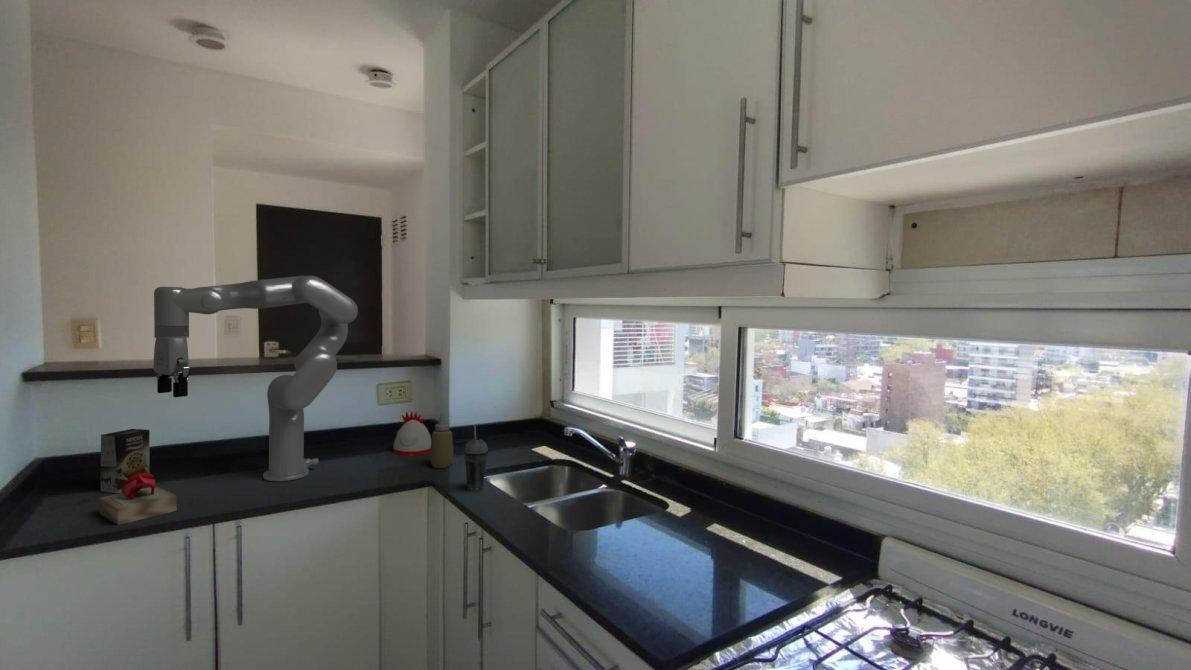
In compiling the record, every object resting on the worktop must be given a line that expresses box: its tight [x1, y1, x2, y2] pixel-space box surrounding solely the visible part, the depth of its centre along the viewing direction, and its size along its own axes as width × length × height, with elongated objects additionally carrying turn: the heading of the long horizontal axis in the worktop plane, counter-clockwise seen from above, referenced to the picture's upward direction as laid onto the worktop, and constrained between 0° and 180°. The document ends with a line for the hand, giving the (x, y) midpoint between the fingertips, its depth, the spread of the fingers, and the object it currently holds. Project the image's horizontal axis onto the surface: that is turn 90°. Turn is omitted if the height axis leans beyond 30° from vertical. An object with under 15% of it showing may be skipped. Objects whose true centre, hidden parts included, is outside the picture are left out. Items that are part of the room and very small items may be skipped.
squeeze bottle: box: [428, 413, 455, 469], centre depth 189 cm, size 8×8×18 cm
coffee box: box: [100, 428, 150, 494], centre depth 157 cm, size 9×6×16 cm
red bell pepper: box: [121, 472, 157, 499], centre depth 141 cm, size 8×6×6 cm
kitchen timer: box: [392, 411, 432, 457], centre depth 207 cm, size 14×14×15 cm
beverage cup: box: [463, 424, 489, 493], centre depth 167 cm, size 7×7×20 cm
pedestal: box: [98, 485, 178, 526], centre depth 141 cm, size 12×12×4 cm
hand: (172, 394), depth 152 cm, fingers open, 9 cm apart
